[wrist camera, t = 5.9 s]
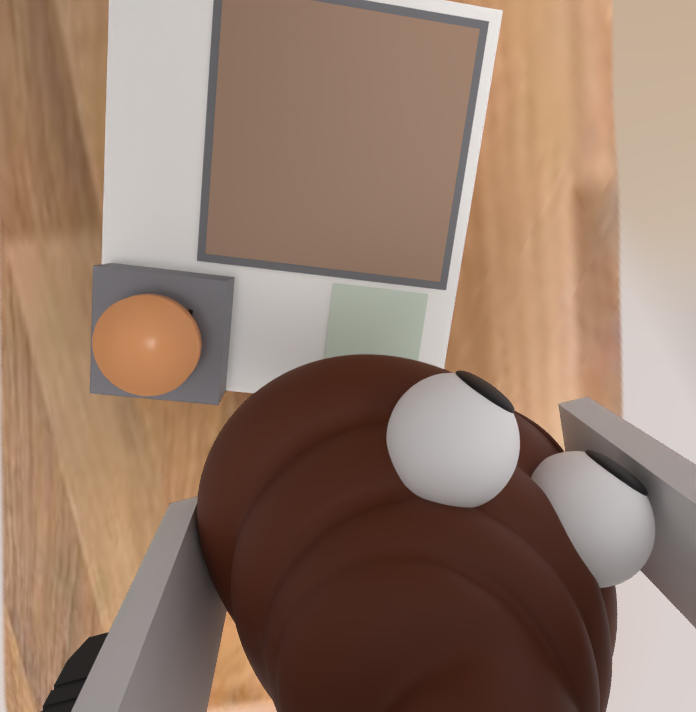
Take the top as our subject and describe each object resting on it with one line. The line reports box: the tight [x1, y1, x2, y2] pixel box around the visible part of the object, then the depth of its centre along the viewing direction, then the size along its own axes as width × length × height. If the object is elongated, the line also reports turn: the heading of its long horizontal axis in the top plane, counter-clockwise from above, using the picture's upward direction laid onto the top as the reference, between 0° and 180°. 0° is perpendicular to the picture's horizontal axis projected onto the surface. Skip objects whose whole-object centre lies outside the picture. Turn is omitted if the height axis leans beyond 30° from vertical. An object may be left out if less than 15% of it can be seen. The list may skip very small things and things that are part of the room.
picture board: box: [90, 0, 503, 405], centre depth 26 cm, size 20×18×4 cm
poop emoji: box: [197, 354, 655, 712], centre depth 10 cm, size 10×8×9 cm
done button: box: [92, 293, 202, 396], centre depth 25 cm, size 4×4×3 cm
